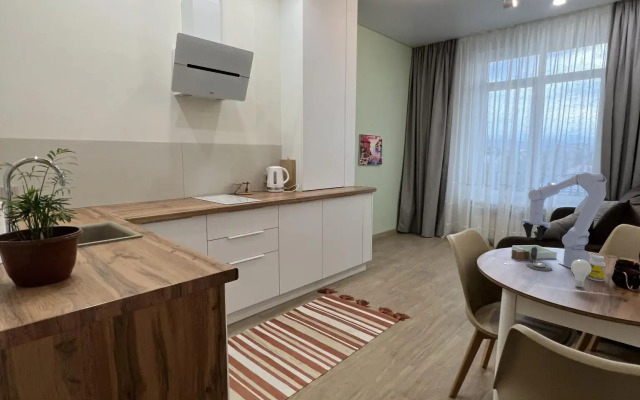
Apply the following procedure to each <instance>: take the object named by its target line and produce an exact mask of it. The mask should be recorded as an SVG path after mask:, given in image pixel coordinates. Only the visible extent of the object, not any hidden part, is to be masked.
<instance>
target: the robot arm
mask: <svg viewBox="0 0 640 400" xmlns="http://www.w3.org/2000/svg"><path fill="white" fill-rule="evenodd" d="M607 182H608V180H607V178H606V177H605V176H604V174H603V173H601V172H597V171H596V172H588V171H587V172H582V173H578V174H575V175H574V176H573V175H572V176H571V177H569V178H567V179H565V180H562V181H560V182H558V183H555V182H548V183H547V184H546V185H544V186H539V187H538V188H537V189H535V188H533V189H532V190H530V191H529V192H528V198H529V200H530V204H529V216H528V217H529V218H528V219H527V218H526V219H525V218H522V219H521V220H520V222H521V224H522V227H523V228H524V229H523V230H524V232H525V235H526V238H527V239H529V238H532V231H533V228H534V226H536V231H537V241H542V240H543V237H544V235H545V233H546V232H547V231H548V229H549V228H551V222H550V223H549V222H545V221H543V216H544V206H545V205H544V203H545V201H546V199H547V198H550V197H553V196H556V195H558V194H559V193H560V191H561V190H564V189H567V188H570V187H573V186H578V185H579V186H580V187H581V188H582V189H583V190H584V191H586V193H587V195H588V197H587V198H586V201H585V203H584V205H583V207H582V208H581V211H580V213H579V215H578V217H577V219H576V221H575V222H574V224H573V226H572V227H570V228H569V230H568V231H567V232H566V233H565V234H564V235H563V236H562V238H561V242H562V244H563V245H564V246H563V247H564V252H563V262H558V264H559V265H561V266H563V267H566V268H569V269H571V264H572V262H573V261H575V260H578V259H582V260H585V261H587V262H589V261H591V256H590V253H589V252H588V251H587V250H585V246H587V244H588V243H589V236H590V232H589V231H588V230H589V229H590V227H591V225H592V223H593V222H594V219H595V218H596V215H597V213H598V211H599V210H600V208H601V206H602V204H603V202H604V200H605V198H606V196H607V189H606V188H607V186H606V184H607Z"/></svg>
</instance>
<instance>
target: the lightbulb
mask: <svg viewBox="0 0 640 400" xmlns="http://www.w3.org/2000/svg"><path fill="white" fill-rule="evenodd" d="M570 269H571V271H572V273H573V275H574V279H575V280H574V281H575V283H574V286H576V287H577V288H584V284H585V280H586V279H587V277H588V275H589V274H590V272H591V270H592V268H591V265H590V263H589V262H587V261H585V260H582V259H578V260H575V261H573V262H572V264H571V268H570Z"/></svg>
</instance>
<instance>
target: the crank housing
mask: <svg viewBox="0 0 640 400" xmlns="http://www.w3.org/2000/svg"><path fill="white" fill-rule="evenodd" d="M506 264H507V266H508V265H509V266H512V263H506V262H503V265H506ZM525 266H526V267H527V268H529V269H531V270H535V271H541V272H552V271H553V267H551V266H550V265H547V264H546V268H539V267H535V266H533V262H530V263H526V265H525Z"/></svg>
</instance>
